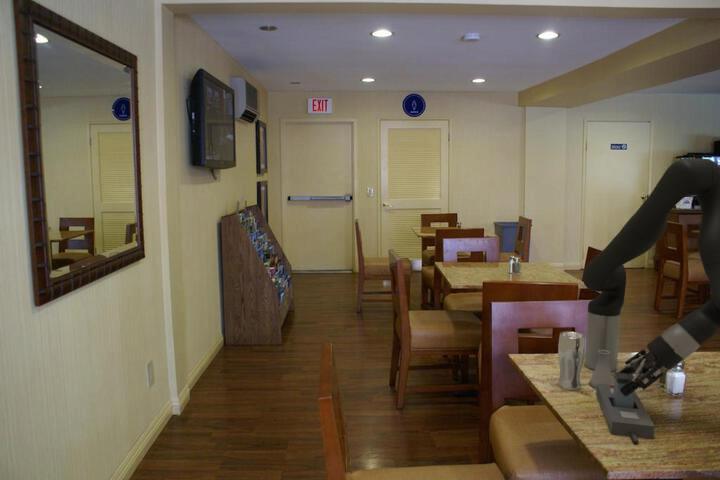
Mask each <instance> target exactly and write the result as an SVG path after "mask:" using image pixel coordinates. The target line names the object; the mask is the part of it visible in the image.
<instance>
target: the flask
mask: <svg viewBox="0 0 720 480" xmlns="http://www.w3.org/2000/svg"><path fill="white" fill-rule="evenodd" d="M598 354H599V358H598V362H597V365H596V368H595V370H594V371H593V372H592V374H591V377H590V379H589V382H588V385H589V386H591V387H592V388H594V389H596V387H597V384H608V385H610V383H611V384H614V375H613V374H612V371H611V370H610V366H609V360H608V357H609V354H610V352H609V351H606V350H598Z"/></svg>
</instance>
